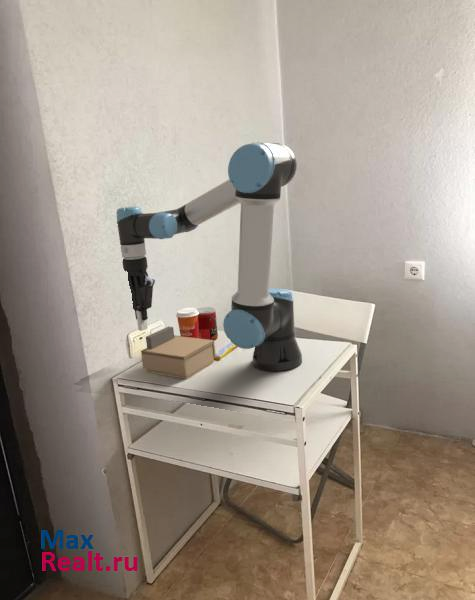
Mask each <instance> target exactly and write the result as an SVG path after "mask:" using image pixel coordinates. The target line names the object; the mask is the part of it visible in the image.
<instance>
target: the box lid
mask: <svg viewBox="0 0 475 600" xmlns="http://www.w3.org/2000/svg"><path fill="white" fill-rule="evenodd" d="M145 342H146V343H145V344H146V348H144V349H142V350H141V351H140V353H141V354H140V355H141V361H142V362H141V363H142V368H143V369H145V370H146V369H151V370H156V371H162V372H168V373H174V374H179V375H187V373H186V365H185V359H187V358H189V357H191V356H192V355H194V354H196V353H198V352H200V351H201V350H203V349H205V348H207V347H208V346H210V345H212V347H213V357H214V358H215V357H216V355H215V354H216V346H215V340H208V339H200V338H192V337H184V336H180V335H175V332H174V326H166V327H164V328H163V329H160V330H157V331H155V332H153V333H151V334H149V335H146V336H145Z"/></svg>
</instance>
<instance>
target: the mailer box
mask: <svg viewBox="0 0 475 600" xmlns="http://www.w3.org/2000/svg"><path fill="white" fill-rule="evenodd" d="M213 364H215V360H214V357H213V347H212V345H210V346H208V347H207V348H205V349H203V350H201V351H200V352H198V353H196V354H194V355H192V356H191V357H189V358H187V359H185V365H186V373H187V375H179V374H174V373H168V372H162V371H156V370H151V369H145V370H146V373H151V374H157V375H163V376H169V377H175V378H180V379H185V380H189V379H190V378H191V377H193V376H194V375H197V374H198V373H199V372H201V371H202V370H204V369H206V368H208V367H209V366H211V365H213Z"/></svg>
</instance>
